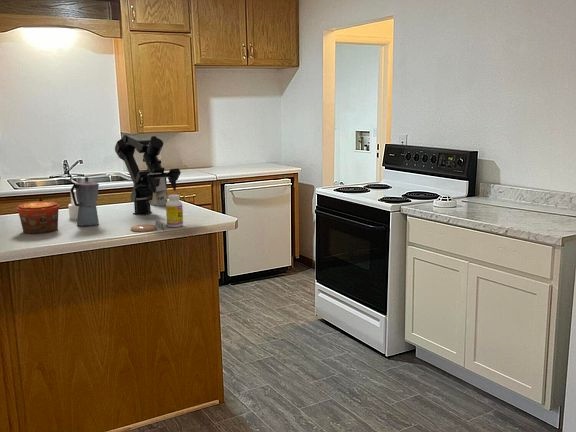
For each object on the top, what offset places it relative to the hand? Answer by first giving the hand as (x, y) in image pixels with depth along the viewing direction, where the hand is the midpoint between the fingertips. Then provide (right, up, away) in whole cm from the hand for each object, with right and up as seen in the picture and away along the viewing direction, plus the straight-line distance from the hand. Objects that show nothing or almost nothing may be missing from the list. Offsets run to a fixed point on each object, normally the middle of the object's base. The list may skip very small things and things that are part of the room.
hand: (165, 191), depth 238 cm
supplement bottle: (+5, -15, -4) cm, 16 cm away
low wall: (-1, -15, -6) cm, 16 cm away
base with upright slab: (-42, -11, +16) cm, 46 cm away
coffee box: (-14, -5, +47) cm, 50 cm away
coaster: (-7, -16, -9) cm, 19 cm away
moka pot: (-33, -14, 0) cm, 36 cm away
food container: (-48, -16, -10) cm, 52 cm away
